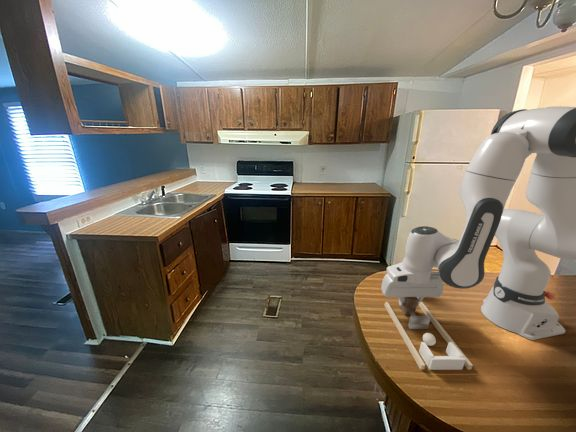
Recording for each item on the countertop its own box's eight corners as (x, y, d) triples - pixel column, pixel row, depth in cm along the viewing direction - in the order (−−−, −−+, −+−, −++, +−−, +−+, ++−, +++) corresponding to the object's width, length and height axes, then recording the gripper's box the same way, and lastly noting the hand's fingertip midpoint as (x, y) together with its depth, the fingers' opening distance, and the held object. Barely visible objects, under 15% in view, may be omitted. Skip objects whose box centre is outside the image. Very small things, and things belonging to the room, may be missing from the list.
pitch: (420, 308, 87) (422, 301, 86) (469, 373, 64) (472, 365, 62) (383, 308, 87) (385, 302, 86) (419, 373, 63) (421, 365, 62)
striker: (412, 307, 86) (415, 291, 83) (427, 328, 76) (432, 312, 74) (396, 307, 86) (399, 291, 83) (409, 329, 76) (413, 312, 74)
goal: (448, 352, 68) (452, 341, 67) (462, 369, 63) (465, 359, 62) (418, 352, 68) (421, 342, 67) (429, 370, 63) (432, 359, 62)
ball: (430, 338, 73) (432, 330, 72) (437, 348, 69) (439, 339, 68) (419, 338, 73) (421, 330, 72) (425, 348, 69) (427, 339, 68)
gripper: (440, 266, 81) (431, 298, 86) (382, 267, 81) (377, 298, 86) (452, 277, 75) (442, 311, 80) (389, 277, 75) (383, 311, 80)
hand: (408, 304), depth 83 cm, fingers closed on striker, 3 cm apart
